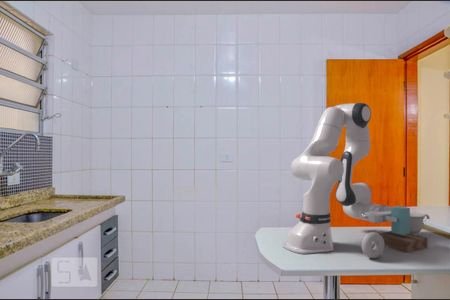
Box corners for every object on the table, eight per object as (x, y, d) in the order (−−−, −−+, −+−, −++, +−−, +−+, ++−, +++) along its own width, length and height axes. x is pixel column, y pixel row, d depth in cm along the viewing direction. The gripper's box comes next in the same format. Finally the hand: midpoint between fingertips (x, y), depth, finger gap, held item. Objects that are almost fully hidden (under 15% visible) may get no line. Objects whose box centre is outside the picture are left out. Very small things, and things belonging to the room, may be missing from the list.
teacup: (437, 237, 138) (437, 216, 139) (405, 237, 139) (405, 216, 139) (421, 230, 151) (421, 211, 151) (391, 230, 151) (391, 211, 151)
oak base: (406, 252, 119) (406, 242, 119) (375, 243, 131) (375, 234, 131) (427, 247, 125) (427, 238, 125) (395, 238, 137) (395, 230, 137)
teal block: (402, 234, 125) (402, 209, 125) (391, 232, 129) (391, 207, 129) (409, 233, 127) (409, 207, 127) (398, 230, 131) (398, 206, 131)
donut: (379, 255, 116) (379, 229, 116) (386, 258, 113) (386, 231, 113) (359, 258, 113) (359, 232, 113) (366, 261, 110) (366, 234, 110)
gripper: (358, 208, 135) (386, 214, 123) (388, 204, 144) (416, 209, 132) (358, 222, 135) (386, 229, 123) (388, 217, 144) (416, 224, 132)
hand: (402, 219), depth 127 cm, fingers closed on teal block, 5 cm apart
